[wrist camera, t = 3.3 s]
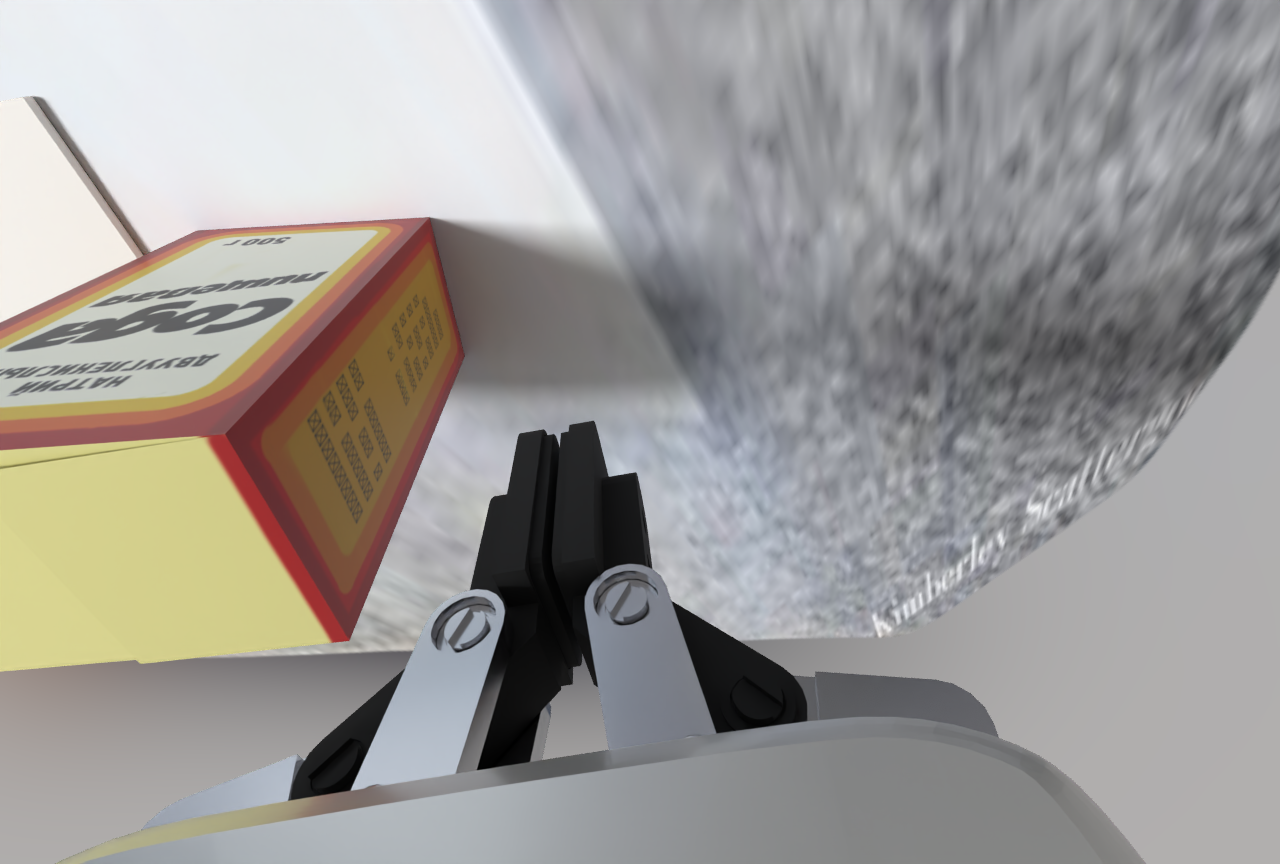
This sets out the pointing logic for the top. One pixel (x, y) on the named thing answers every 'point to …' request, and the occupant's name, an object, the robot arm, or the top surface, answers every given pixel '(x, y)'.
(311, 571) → the baking soda box
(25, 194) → the mat
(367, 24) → the top surface
